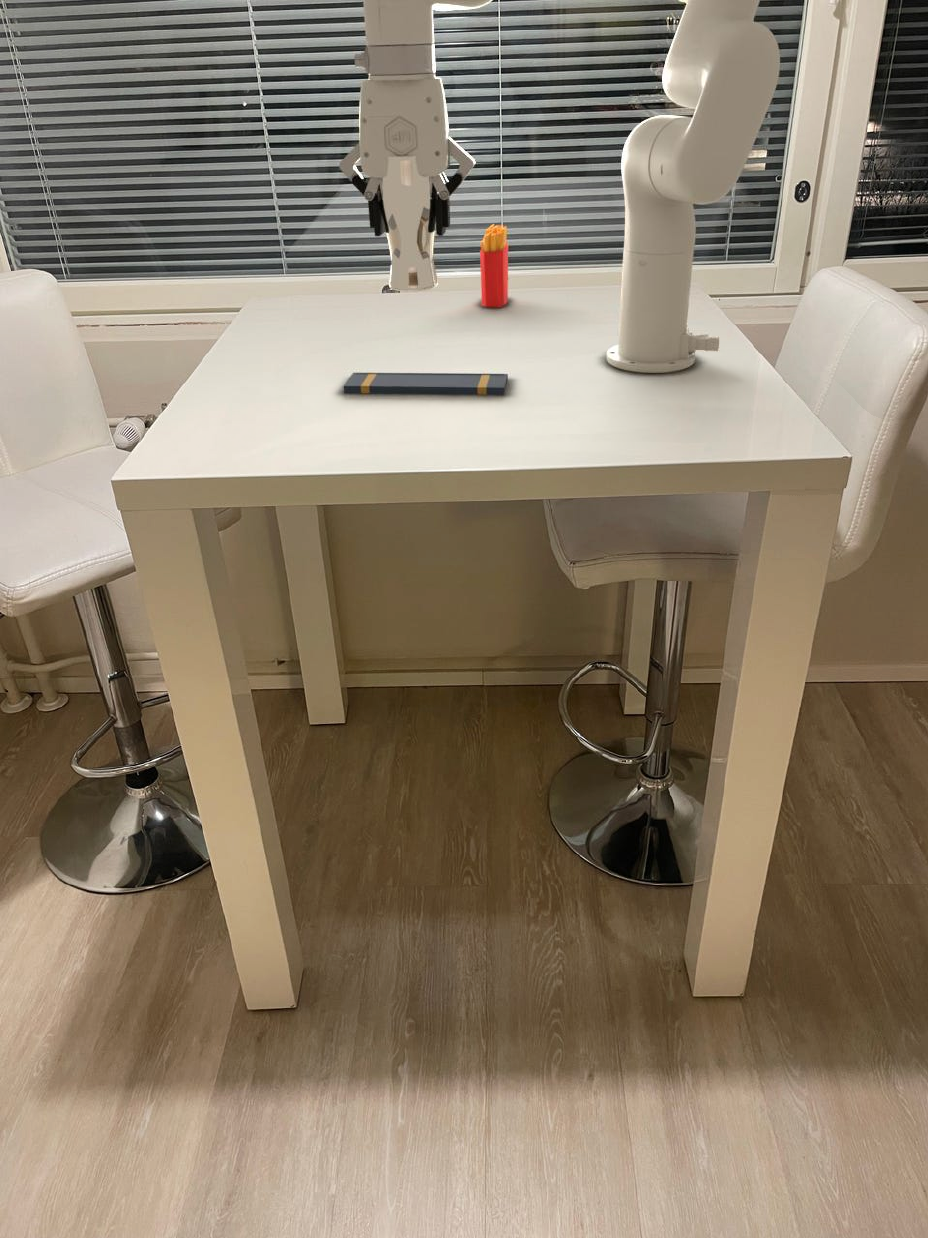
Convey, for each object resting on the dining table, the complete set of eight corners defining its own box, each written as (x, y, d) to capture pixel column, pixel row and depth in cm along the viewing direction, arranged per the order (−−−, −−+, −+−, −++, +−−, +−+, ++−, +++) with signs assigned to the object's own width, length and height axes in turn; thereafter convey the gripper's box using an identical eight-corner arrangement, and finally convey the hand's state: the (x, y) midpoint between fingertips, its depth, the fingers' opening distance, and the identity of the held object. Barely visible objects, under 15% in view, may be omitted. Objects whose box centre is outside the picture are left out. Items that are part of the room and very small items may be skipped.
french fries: (487, 296, 174) (486, 221, 168) (510, 297, 174) (510, 221, 167) (478, 309, 167) (476, 230, 160) (502, 309, 166) (501, 230, 159)
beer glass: (434, 292, 115) (428, 155, 107) (379, 292, 116) (369, 156, 108) (447, 280, 120) (442, 149, 112) (394, 279, 122) (385, 150, 114)
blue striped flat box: (507, 380, 132) (507, 372, 131) (504, 394, 127) (504, 386, 126) (353, 379, 134) (353, 371, 134) (344, 393, 129) (343, 385, 129)
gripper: (317, 67, 103) (333, 240, 113) (474, 63, 101) (478, 239, 111) (333, 65, 110) (348, 229, 119) (482, 61, 108) (484, 228, 117)
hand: (410, 232), depth 115 cm, fingers closed on beer glass, 6 cm apart
